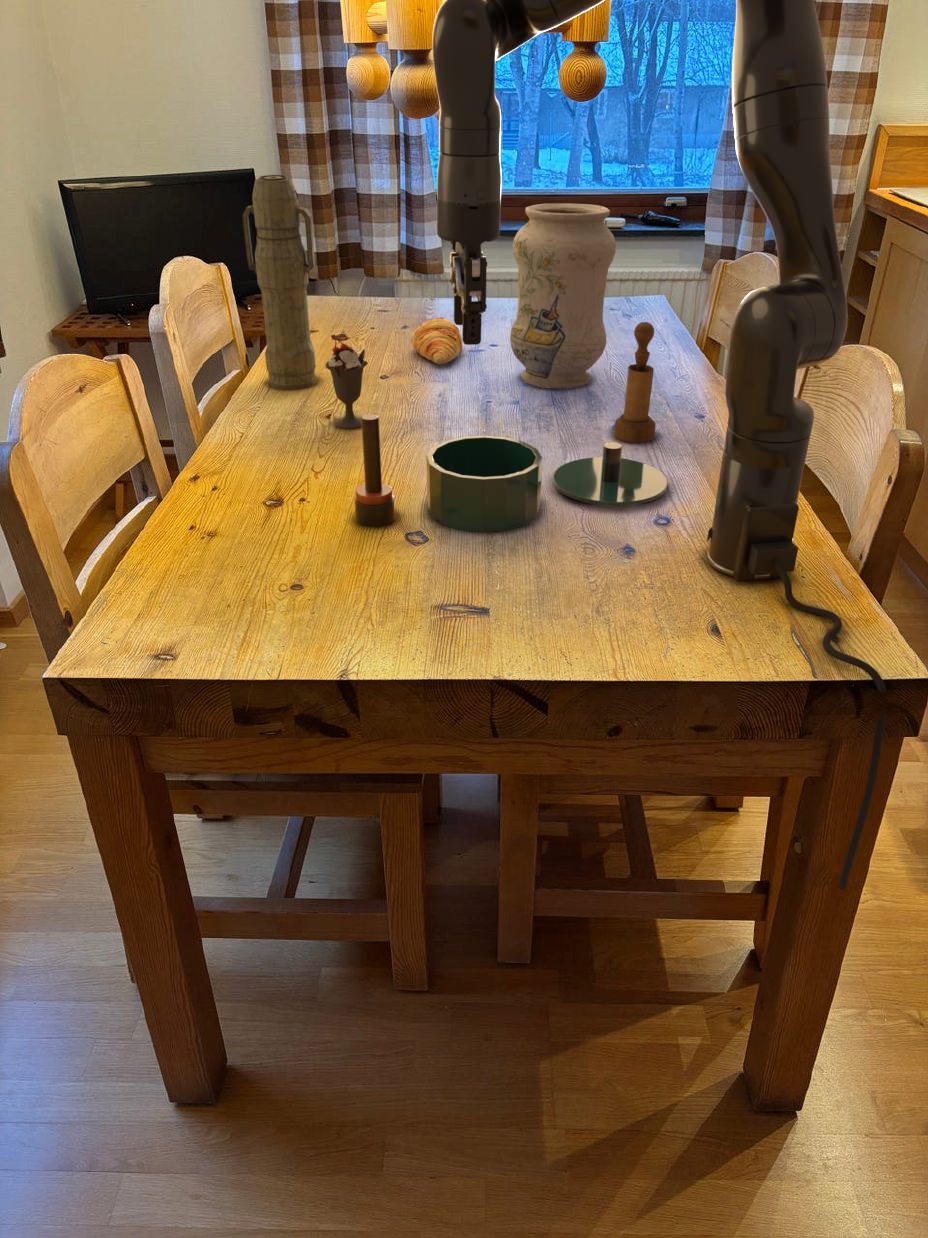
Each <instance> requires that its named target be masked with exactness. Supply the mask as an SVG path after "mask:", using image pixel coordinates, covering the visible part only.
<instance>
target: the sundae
mask: <svg viewBox="0 0 928 1238" xmlns="http://www.w3.org/2000/svg"><path fill="white" fill-rule="evenodd" d="M330 337H331V338H332V339H334V342H335V344H334V347H333V348H332V354H331V355H330V357H329V359H328V360H327V362H325V369H328V370H329V371H330V374H331V378H332V383H333V389H334V393H335V396H336V398H337V399H338V400H339V402H341V403H343V404H344V406H345V414H344V417H343V418H339V419H337V420H336V421H335V424H334V425H335V426H336V427H338V428H340V429H346V430H353V429H358V428H362V420H361V417H360V418H359V417H356V416H355V414H354V408H353V407H354V406H353V405H354V403H355V402H356V401H358V400H359V398H360V396H361V393H362V387H363V374H364V368H365V367H367V366H368V364H369V363H368V361H366V360H364V359H365V357H366V353H365V352H366V351H365V349H364V348H363V349H362V351H361V352H360V353H359V354H358V351H357V350H355V349H354V347H352V346H348V344H346V343H343V342H342V341H341V340H340V339H339V338H338V337H337V336H336V334H331V335H330ZM337 340H338V341H337ZM337 342H339V343H340V345H339V346H340V347H339V346H337Z"/></svg>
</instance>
